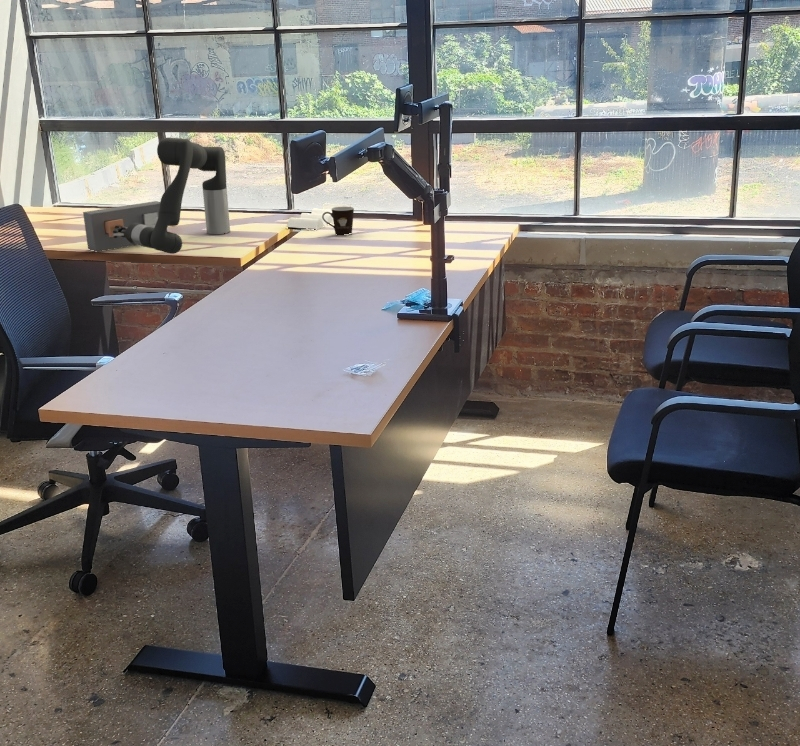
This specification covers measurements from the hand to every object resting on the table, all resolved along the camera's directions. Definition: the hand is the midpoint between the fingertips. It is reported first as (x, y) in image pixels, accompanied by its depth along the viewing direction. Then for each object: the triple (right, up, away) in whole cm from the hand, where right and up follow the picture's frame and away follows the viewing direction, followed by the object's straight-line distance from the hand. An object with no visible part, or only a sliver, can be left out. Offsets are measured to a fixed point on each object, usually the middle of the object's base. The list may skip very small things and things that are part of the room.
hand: (117, 228), depth 333 cm
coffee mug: (+80, +2, +25) cm, 83 cm away
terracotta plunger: (-4, -1, +4) cm, 6 cm away
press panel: (0, -4, +13) cm, 14 cm away
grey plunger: (+6, +3, +17) cm, 18 cm away
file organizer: (+69, +10, +49) cm, 85 cm away
